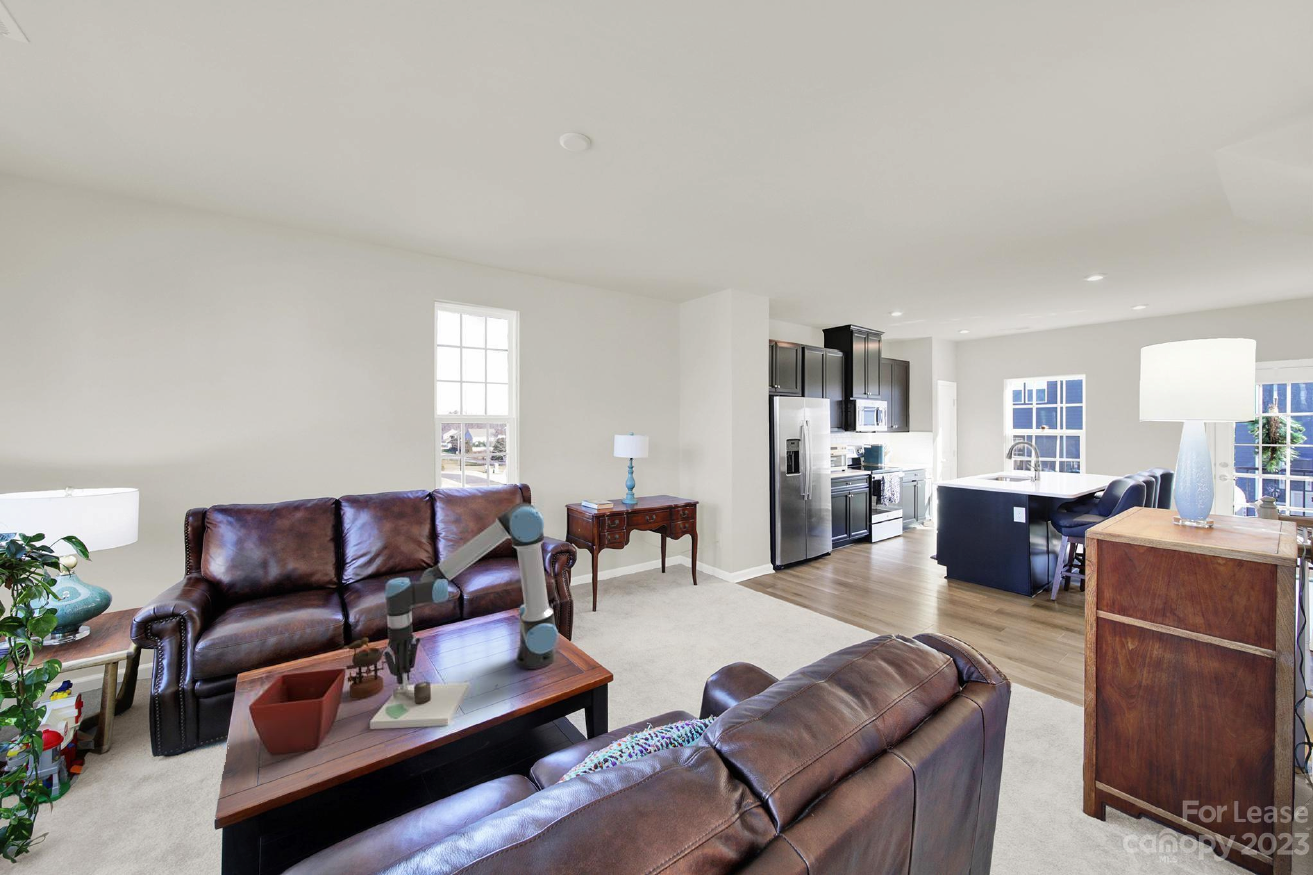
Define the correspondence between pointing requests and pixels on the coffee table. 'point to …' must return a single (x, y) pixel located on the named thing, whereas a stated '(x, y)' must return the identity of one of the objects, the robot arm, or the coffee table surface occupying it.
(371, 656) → the music box
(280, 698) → the plant pot
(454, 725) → the coffee table surface
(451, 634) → the coffee table surface
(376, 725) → the board
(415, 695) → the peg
